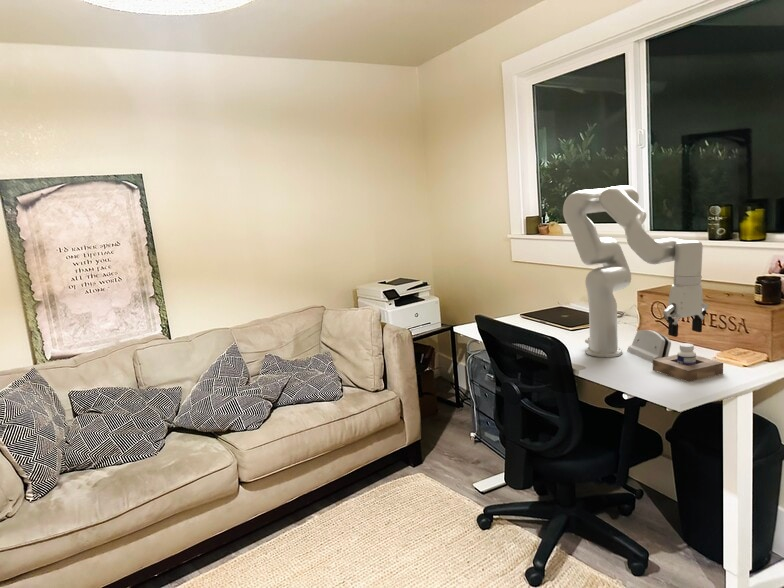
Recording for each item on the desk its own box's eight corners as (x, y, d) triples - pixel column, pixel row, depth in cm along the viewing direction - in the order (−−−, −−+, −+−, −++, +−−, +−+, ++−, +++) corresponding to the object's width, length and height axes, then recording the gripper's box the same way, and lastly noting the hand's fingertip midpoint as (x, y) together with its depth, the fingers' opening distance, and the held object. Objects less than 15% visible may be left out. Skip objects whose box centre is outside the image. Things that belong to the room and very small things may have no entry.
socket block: (652, 369, 183) (652, 359, 183) (686, 362, 188) (686, 352, 187) (688, 381, 170) (688, 370, 170) (723, 373, 175) (723, 362, 174)
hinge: (626, 350, 206) (634, 324, 205) (637, 353, 207) (646, 327, 206) (653, 363, 190) (663, 335, 189) (665, 366, 191) (675, 338, 190)
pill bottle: (675, 369, 182) (675, 343, 181) (692, 369, 181) (692, 342, 180) (680, 374, 177) (680, 347, 176) (698, 374, 176) (698, 346, 175)
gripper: (698, 275, 181) (696, 327, 184) (655, 281, 175) (654, 334, 178) (718, 278, 174) (715, 332, 177) (675, 285, 168) (673, 340, 171)
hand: (684, 333), depth 178 cm, fingers open, 9 cm apart
